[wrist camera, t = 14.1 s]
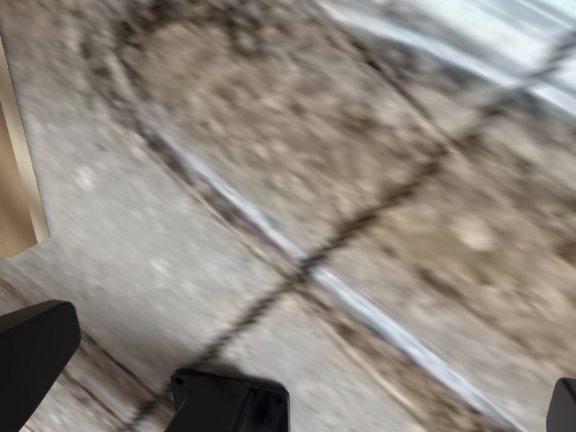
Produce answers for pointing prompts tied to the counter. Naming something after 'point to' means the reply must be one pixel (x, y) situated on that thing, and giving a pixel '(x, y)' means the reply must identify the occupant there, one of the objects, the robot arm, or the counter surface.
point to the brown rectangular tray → (16, 177)
